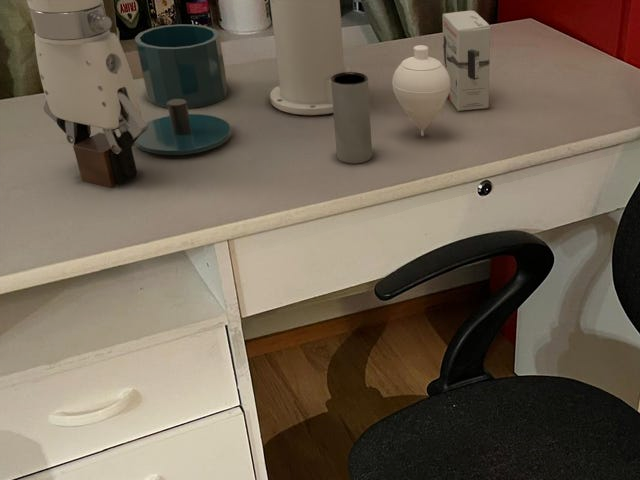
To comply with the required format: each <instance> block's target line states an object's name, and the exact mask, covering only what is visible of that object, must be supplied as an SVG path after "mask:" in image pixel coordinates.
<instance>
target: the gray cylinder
mask: <svg viewBox="0 0 640 480" xmlns="http://www.w3.org/2000/svg"><path fill="white" fill-rule="evenodd" d="M369 87H370V86H369V77H368V76H367V75H366V74H364V73H361V72H356V71H351V72H344V73H339V74H336V75H334V76H332V78H331V88H332V101H333V113H332V114H333V121H334V122H333V123H334V136H335V147H336V149H335V150H336V158H337V159H338V160H339V161H340V162H342V163H345V164H353V165H354V164H361V163H365V162H368V161H370V160H371V159H372V157H373V147H372V146H373V145H372V126H371V125H372V124H371V108H370V106H371V105H370V89H369Z"/></svg>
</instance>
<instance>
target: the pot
mask: <svg viewBox="0 0 640 480" xmlns="http://www.w3.org/2000/svg"><path fill="white" fill-rule="evenodd" d="M134 41H135V45H136V50H137V51H136V52H137V55H138V60H139V64H140V69H141V73H142V78H143V83H144V84H143V85H144V87H145V92H146V97H147V100H148V101H149V102H150V103H151V104H152V105H155V106H158V107H159V108H167V109H168V105H167V102H168V101H170V100H173V99H184V100H186V102H187V107H188V109H194V108H202V107H207V106H209V105H213V104H216V103H218V102H220V101H222V100H223V99H224V98H226V96H227V95H228V82H227V76H226V75H227V74H226V70H225V68H226V67H225V63H224V56H223V50H222V43H221V36H220V34H219V32H218V30H217V29H214V28H212V27H210V26H206V25H200V24H189V23H188V24H183V23H182V24H181V23H178V24H168V25H160V26H157V27H152V28H149V29H148V28H147V29H145V30H144V31H141V32H139V33H138V34H137V35H136V36H135V37H134Z"/></svg>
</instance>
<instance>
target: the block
mask: <svg viewBox="0 0 640 480" xmlns="http://www.w3.org/2000/svg"><path fill="white" fill-rule="evenodd" d="M91 136H92V137H91ZM91 136H90V138H88V139H86V140H84V141H82V142H80V143H78V144H76V145H74V144H73V145H74V146H73V145H72V148H73V151H74V156H75V158H76V162H77V166H78V170H79V174H80V178H81V180H82V181H81V182H86V183H89V184H94V185H99V186H103V187H107V188H111V189H113V188H115V187H116V186H117V185H119V184H117V183H116V181H115V177H114V173H113V169H112V165H111V161H110V157H109V153H110V152H112V150H111V147H110V145H109V143H108V140H107V138H106V136H105V133H104V132H98V133H95V134H94V135H91ZM117 137H118V138H119V137H120V136H118V135H117Z"/></svg>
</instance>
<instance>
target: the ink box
mask: <svg viewBox="0 0 640 480" xmlns="http://www.w3.org/2000/svg"><path fill="white" fill-rule="evenodd" d="M442 58H443V59H442V62H443V63H442V65H443V66H444V67H445V69H446V70H447V72H448V74H449V77H450V82H451V85H450V92H449V94H448V97H447V99H449V101H450V102H451V104H453V106H454V108H455V109H456V111H458V112H462V111H471V110H472V111H473V110H482V109H489V107H490V106H489V105H490V64H491V63H490V61H491V60H490V58H491V27H490V24H489V23H488V22H487V21H486V20H485V19H484V18H483V17H481V15H479V13H477V12H476V11H475V10H463V11H455V12H454V11H453V12H446V13H442Z"/></svg>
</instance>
